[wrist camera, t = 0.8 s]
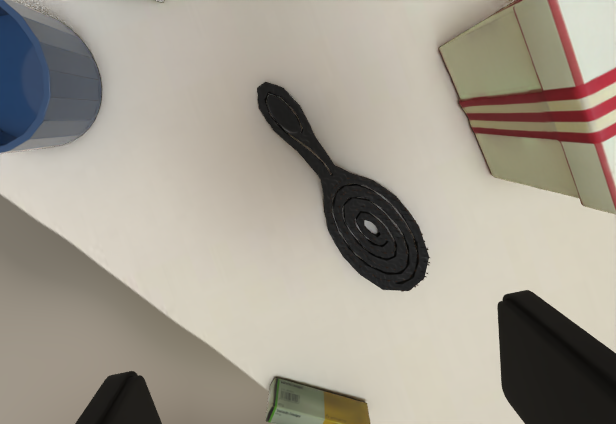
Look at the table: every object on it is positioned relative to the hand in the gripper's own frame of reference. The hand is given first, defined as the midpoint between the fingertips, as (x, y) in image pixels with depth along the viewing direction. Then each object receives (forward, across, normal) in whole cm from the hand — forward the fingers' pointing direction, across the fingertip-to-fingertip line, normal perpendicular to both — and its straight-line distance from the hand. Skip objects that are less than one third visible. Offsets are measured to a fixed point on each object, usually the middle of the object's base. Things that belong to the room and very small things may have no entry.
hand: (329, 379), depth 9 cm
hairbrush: (+28, -4, +2) cm, 29 cm away
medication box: (+28, +3, +27) cm, 39 cm away
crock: (+28, +22, -14) cm, 38 cm away
